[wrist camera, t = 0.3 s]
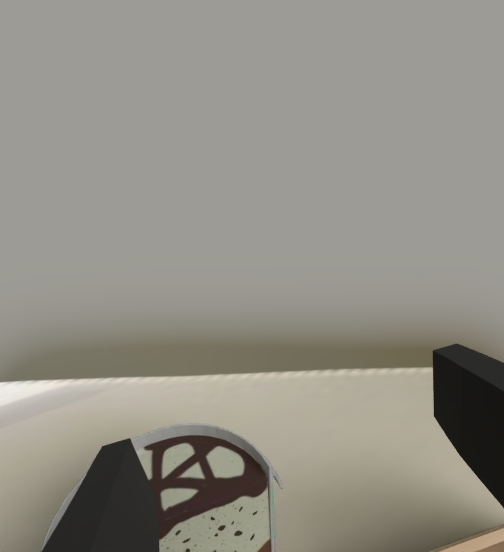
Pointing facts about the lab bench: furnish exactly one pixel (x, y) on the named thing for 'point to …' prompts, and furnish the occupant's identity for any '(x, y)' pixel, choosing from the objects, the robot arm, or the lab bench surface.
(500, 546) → the carton
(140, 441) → the food container
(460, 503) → the lab bench surface
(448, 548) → the flap
